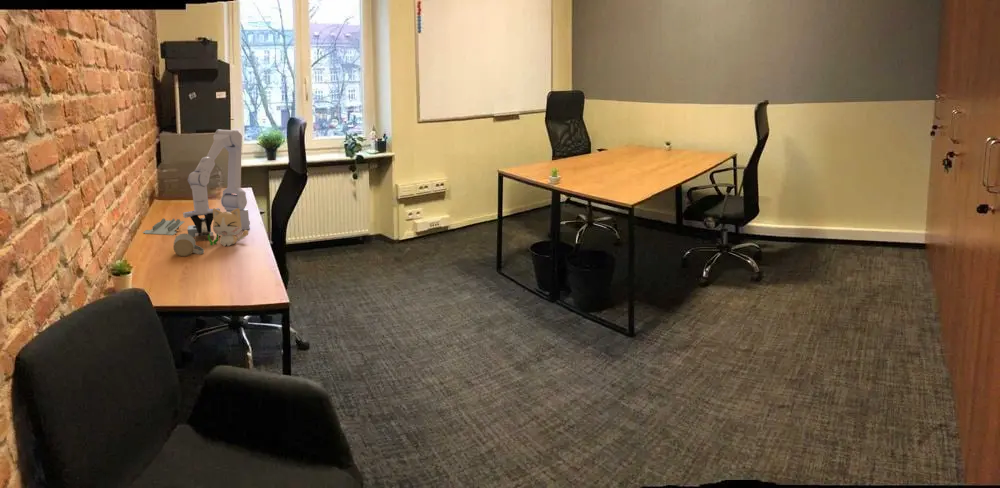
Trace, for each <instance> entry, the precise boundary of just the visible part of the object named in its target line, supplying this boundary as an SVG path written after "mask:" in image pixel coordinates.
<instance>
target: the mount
mask: <svg viewBox="0 0 1000 488" xmlns="http://www.w3.org/2000/svg"><path fill="white" fill-rule="evenodd" d="M209 233H210V239H211V240H212V241H214V231H211V232H208V235H209ZM208 235H203V236H200V233H195V237H194V239H195V242H204V241H209V240H208Z"/></svg>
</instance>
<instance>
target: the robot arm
mask: <svg viewBox="0 0 1000 488" xmlns="http://www.w3.org/2000/svg"><path fill="white" fill-rule="evenodd" d="M212 139H213V142H212V144H211V146H210V148H209V151H208V152H207V155H206V156H203V157H202V158H200V161H199V162H198V165H197V166H196V168H195V169H194V171H192V172H190V173H189V174H188V177H187V182H188V184H189V186H190V189H191V192H192V202H193V210H191V211H186V212H183V213H182V215H183V218H185V219H187V218H190V220H191V221H192V222H193V225H195V226H196V229H197V232H198V233H201V228H200V218H201V217H199V216H204V218H207V227H208V232H210V228H211V229H212V225H213V222H214V220H213V209H214V208H210V206H209V196H208V195H209V194H208V188H207V185H208V184H210V183H209V182H210V177H211V172H212V171H213V170H214V167H215V166H216V162H215V160H216V159H217V157H218V156H219V155H220V153H221V152H222V150H223V149H225V150H226V151H227V153H228V155H227V157H228V159H227V160H228V161H227V187H226V188H225V189H223V190H222V196H221V200H220V203H221V206H222V207H223V208H224V210H225V212H232V211H233V210H235V209H237V208H239V209H240V217H241V220H240V221H241V231H243V230H250V225H251V221H250V219H249V218H250V217H249V209H248V208H246V206H247V203H248V199H247V194H246V193H247V192H245V190H243V189H242V188H241V186H242V185H241V182H242V180H241V179H242V178H241V177H242V153H243V152H242V151H243V149H242V148H243V147H242V146H243V145H242V144H243V136H242V134H241V133H240V131H239V130H237V129H216V131H215V132H214V135H212ZM215 209H217V210H219V211H221V208H220V207H219V208H218V207H216V208H215Z"/></svg>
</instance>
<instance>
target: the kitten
mask: <svg viewBox="0 0 1000 488" xmlns="http://www.w3.org/2000/svg"><path fill="white" fill-rule="evenodd" d="M212 209H213V221H212V232H213V233H215V234H216V238H215V239H213V240H211V239H210V233H209V235H208V240H207V241H208V242H209V246H213V245H217V242H218V241H219V243H220V244H221V245H222V246H223V247H226V246H227V247H230V246H232V245H235V244H236V243H237V242H238V241H241V240H243V238H245V237H246V236H248V234H249V230H248V229H245V230H244V231H243V230H241V221H240V220H241V217H240V209H239V208H237V209H235V210H233V211H232V212H226V211H221V210H220V211H219V210H217V209H216V208H212ZM241 231H243V232H242V233H241ZM240 233H241V235H239V236H236V235H238V234H240ZM219 236H220V237H219Z"/></svg>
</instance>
